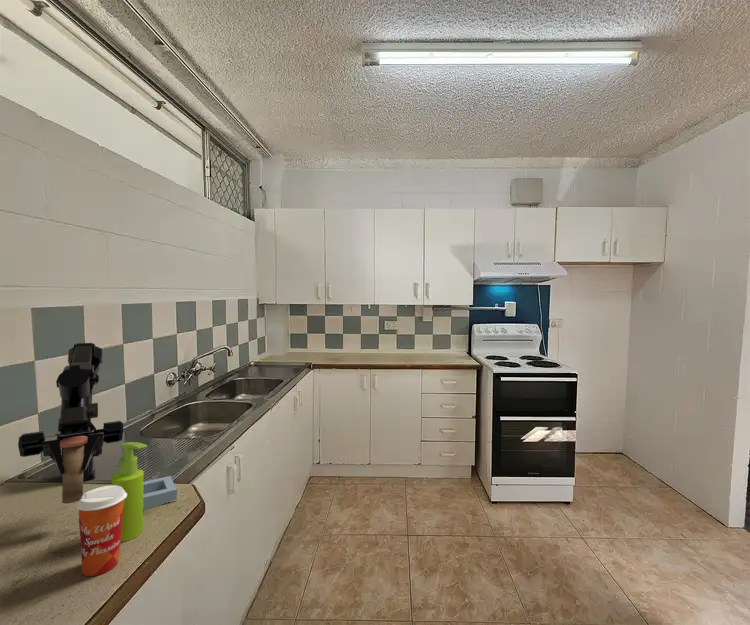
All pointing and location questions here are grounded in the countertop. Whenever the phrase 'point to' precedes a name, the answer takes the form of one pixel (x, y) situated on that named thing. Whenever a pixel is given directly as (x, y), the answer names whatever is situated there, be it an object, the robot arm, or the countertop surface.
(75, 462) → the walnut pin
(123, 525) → the soap dispenser
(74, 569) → the countertop surface
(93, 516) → the paper cup
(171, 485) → the hole block
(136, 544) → the countertop surface
